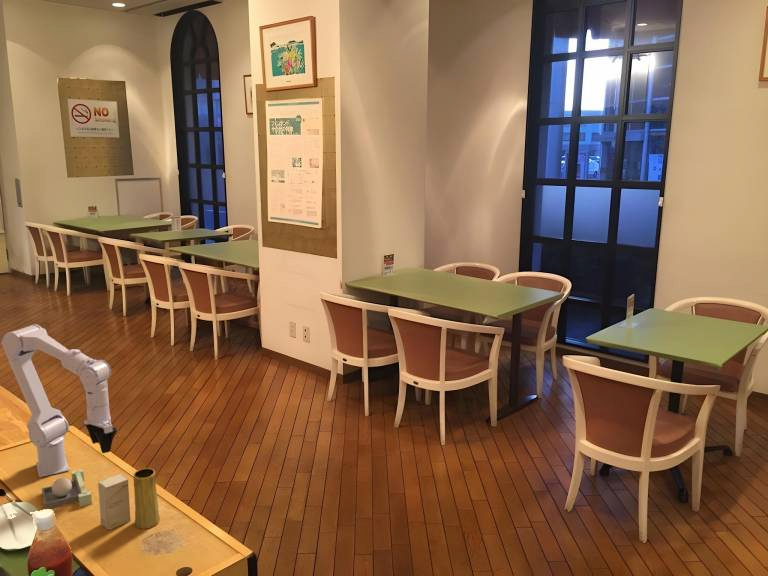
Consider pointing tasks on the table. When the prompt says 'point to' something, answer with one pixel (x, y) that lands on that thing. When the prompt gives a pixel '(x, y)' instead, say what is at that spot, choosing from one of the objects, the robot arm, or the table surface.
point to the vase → (145, 499)
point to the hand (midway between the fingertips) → (101, 447)
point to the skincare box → (114, 501)
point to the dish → (55, 501)
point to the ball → (61, 487)
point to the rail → (81, 488)
